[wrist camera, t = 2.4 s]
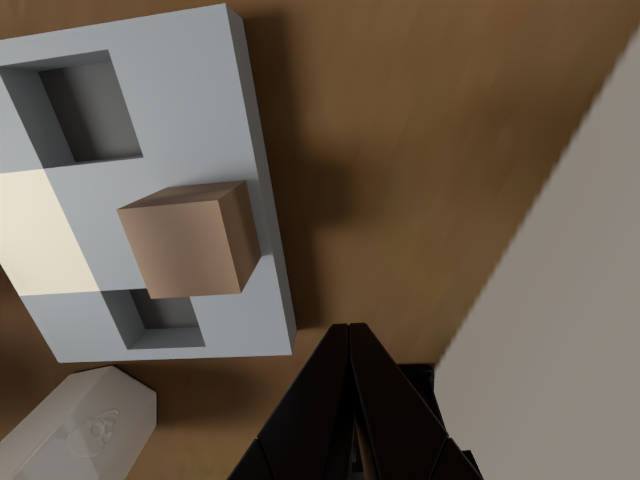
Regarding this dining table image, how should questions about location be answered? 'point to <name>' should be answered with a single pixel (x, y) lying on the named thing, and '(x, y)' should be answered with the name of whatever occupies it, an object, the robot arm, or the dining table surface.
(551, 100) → the dining table surface
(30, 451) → the jar
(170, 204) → the walnut block
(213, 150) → the trap deck
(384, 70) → the dining table surface
